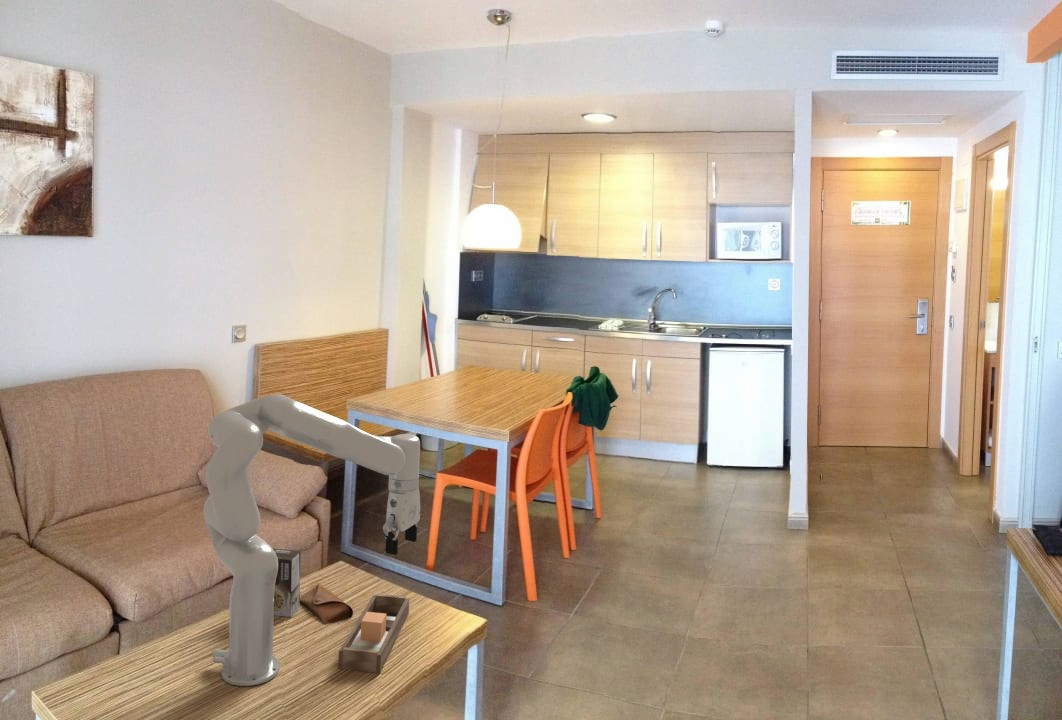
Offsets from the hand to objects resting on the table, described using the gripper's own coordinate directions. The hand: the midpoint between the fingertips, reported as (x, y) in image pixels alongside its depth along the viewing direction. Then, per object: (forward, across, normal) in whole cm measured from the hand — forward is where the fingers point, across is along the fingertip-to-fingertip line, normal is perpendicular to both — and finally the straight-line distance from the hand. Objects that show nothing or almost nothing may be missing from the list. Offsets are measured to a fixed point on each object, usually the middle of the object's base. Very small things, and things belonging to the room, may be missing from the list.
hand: (401, 547), depth 205 cm
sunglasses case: (+23, 0, +23) cm, 32 cm away
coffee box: (+22, -7, +32) cm, 40 cm away
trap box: (+22, -8, +2) cm, 24 cm away
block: (+20, -11, +1) cm, 22 cm away
